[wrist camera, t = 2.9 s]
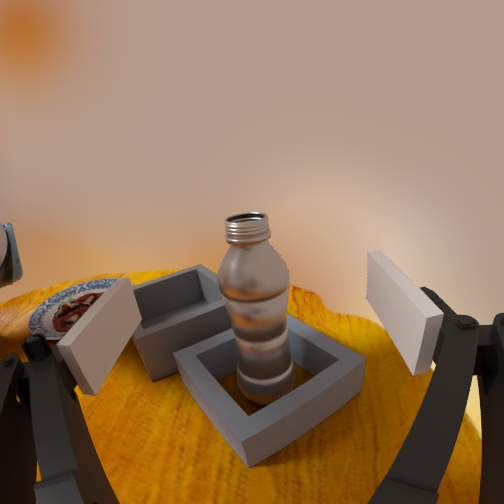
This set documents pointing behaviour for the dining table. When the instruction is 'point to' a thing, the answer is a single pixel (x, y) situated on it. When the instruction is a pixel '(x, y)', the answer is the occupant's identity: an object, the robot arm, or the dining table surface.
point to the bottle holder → (282, 410)
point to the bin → (177, 316)
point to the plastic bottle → (257, 308)
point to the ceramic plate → (67, 308)
